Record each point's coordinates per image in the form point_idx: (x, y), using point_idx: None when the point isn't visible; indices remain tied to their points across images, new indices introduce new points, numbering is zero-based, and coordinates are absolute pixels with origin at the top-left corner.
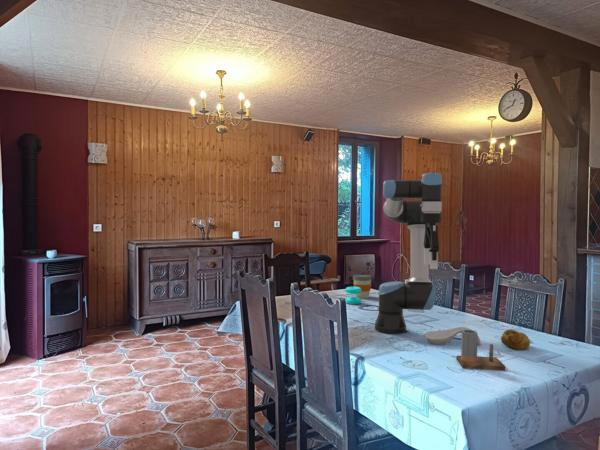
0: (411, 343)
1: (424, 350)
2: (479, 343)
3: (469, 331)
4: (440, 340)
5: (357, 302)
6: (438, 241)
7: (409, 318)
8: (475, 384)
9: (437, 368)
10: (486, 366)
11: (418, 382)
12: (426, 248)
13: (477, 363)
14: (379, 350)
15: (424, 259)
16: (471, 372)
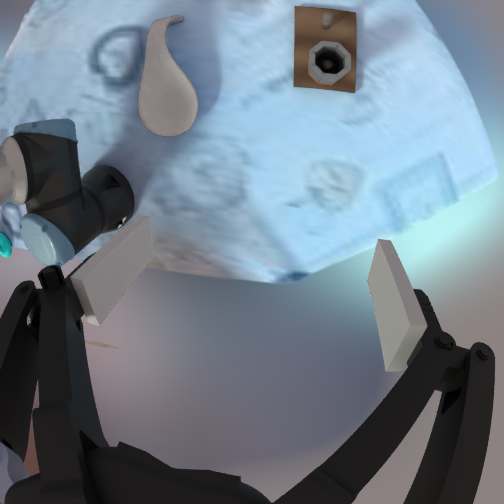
0: (190, 164)
1: (237, 143)
2: (182, 18)
3: (314, 55)
4: (198, 103)
5: (6, 240)
6: (491, 417)
7: None
8: (432, 107)
9: (356, 146)
10: (355, 46)
11: (421, 205)
12: (88, 312)
13: None
14: (250, 238)
15: (138, 273)
16: (375, 85)
